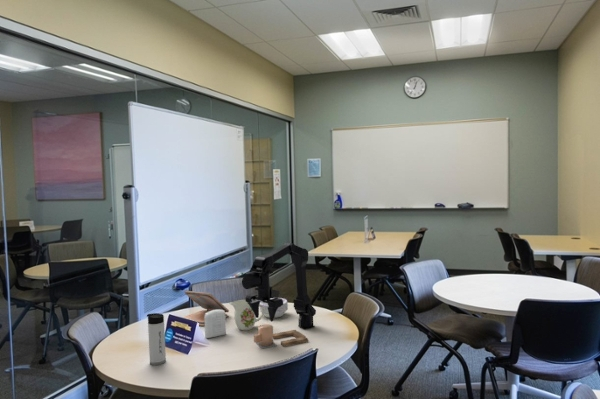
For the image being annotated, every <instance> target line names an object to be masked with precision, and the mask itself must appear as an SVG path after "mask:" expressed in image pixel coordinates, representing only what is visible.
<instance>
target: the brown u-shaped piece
mask: <svg viewBox="0 0 600 399" xmlns="http://www.w3.org/2000/svg"><path fill="white" fill-rule="evenodd" d="M287 337H294V338H291V339H286V340H281V341H280V345H281V347H283V348H286V347H290V346H294V345H299V344H305V343H308V342H309V338H308V337H307V336H306V335H305V334H303V333H302V332H300V331H299V330H298V331H297V329H291V330H286V331H281V332H277V333H273V340H277V339H283V338H287Z"/></svg>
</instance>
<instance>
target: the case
mask: <svg viewBox="0 0 600 399" xmlns="http://www.w3.org/2000/svg"><path fill="white" fill-rule="evenodd" d="M184 294H185V295H186V296H187V297H188V298H190V300H191V301H193V302H194V303H196V304H197V305H198V306H199V307H201V308H202V309H203V310H199V311H197V312H193V313H190V314H187V315H184V316H183V317H184V318H187V319H191V320H194V321H197V322H198V323H199V326H198V327H205V313H207V312H209V311H212V310H224V311H225V317H226V318H228V317H229V314H227V313H230V310H229V309H228V308H227V307H226V306H225V305H224V304H223V303H222V302H221V301H219V300H218V299H217V297H215V296H214V295H213V294H211V293H208V292H200V291H192V290H191V291H190V290H185V291H184Z"/></svg>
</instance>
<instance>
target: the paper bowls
mask: <svg viewBox="0 0 600 399" xmlns="http://www.w3.org/2000/svg"><path fill="white" fill-rule="evenodd" d="M274 298H275V297H273V298H270V299H274ZM279 298H280V299H282V300H283V305H282V306H281V307H279V308H278V309H277V311H276V313H275V316H274V319H276V318H280V317H283V315H285V312H287V311H288V309H289V308H288V306H289V305H288V300H287V299H286V298H282V297H279ZM260 304H261V305H262V306H263V307H264V315H263V316H265V318H269V319H270V317H269V312H268V307H269V306H268V303H264V302H260ZM259 313H261V314H262V309H261V307H259Z"/></svg>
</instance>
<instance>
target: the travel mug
mask: <svg viewBox="0 0 600 399" xmlns="http://www.w3.org/2000/svg"><path fill="white" fill-rule="evenodd" d="M146 317H147V322H148V323H147V329H148V332H147V333H148V348H149V349H148V350H149V351H148V352H149V354H148V355H149V364H150V365H152V366H158V365H163V364H164V363H165V362H166V361H167V357H166V356H167V355H166V354H167V353H166V337H165V336H166V335H165V334H166V333H165V332H166V330H165V316H164V314H162V313H159V312H158V313H155V312H154V313H147V315H146Z"/></svg>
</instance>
